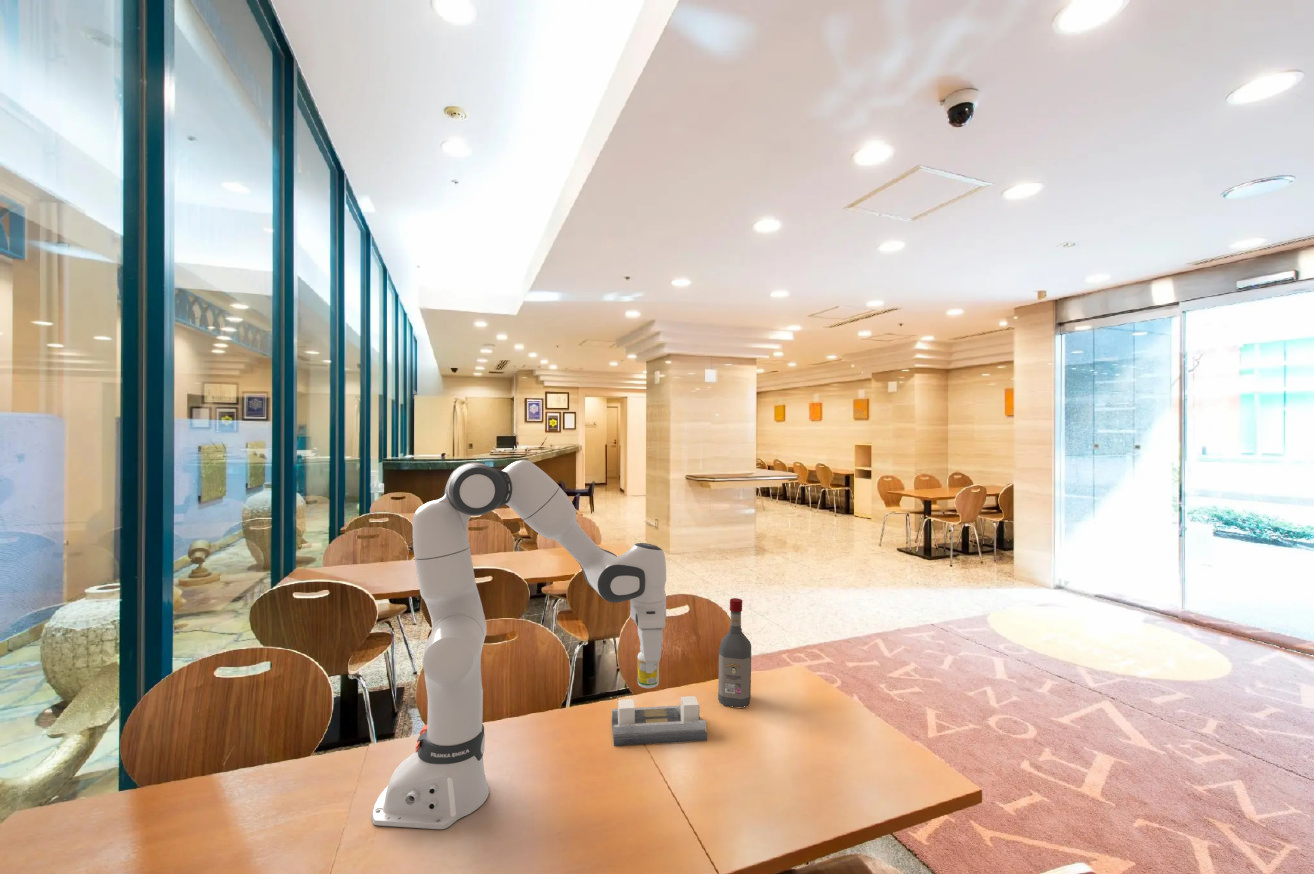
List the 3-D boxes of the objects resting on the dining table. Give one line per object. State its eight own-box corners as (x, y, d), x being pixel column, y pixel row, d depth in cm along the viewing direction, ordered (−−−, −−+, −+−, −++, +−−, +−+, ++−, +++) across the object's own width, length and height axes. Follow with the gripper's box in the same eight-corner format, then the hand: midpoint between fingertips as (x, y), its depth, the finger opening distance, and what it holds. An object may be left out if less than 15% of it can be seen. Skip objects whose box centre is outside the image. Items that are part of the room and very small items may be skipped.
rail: (613, 745, 134) (614, 729, 134) (611, 721, 146) (611, 706, 146) (707, 740, 138) (707, 724, 138) (697, 716, 150) (697, 702, 150)
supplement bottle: (653, 690, 128) (653, 650, 127) (633, 686, 130) (633, 646, 130) (662, 681, 132) (662, 642, 132) (643, 676, 135) (643, 638, 135)
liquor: (749, 710, 154) (750, 605, 154) (717, 705, 156) (719, 602, 156) (750, 695, 163) (752, 596, 163) (720, 691, 165) (722, 594, 165)
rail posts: (619, 731, 138) (619, 708, 138) (617, 722, 143) (618, 699, 143) (698, 727, 141) (698, 704, 141) (694, 718, 146) (695, 695, 146)
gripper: (632, 597, 141) (632, 649, 141) (638, 624, 121) (638, 685, 121) (656, 596, 142) (655, 648, 142) (666, 623, 122) (666, 683, 121)
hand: (648, 665), depth 131 cm, fingers closed on supplement bottle, 5 cm apart
